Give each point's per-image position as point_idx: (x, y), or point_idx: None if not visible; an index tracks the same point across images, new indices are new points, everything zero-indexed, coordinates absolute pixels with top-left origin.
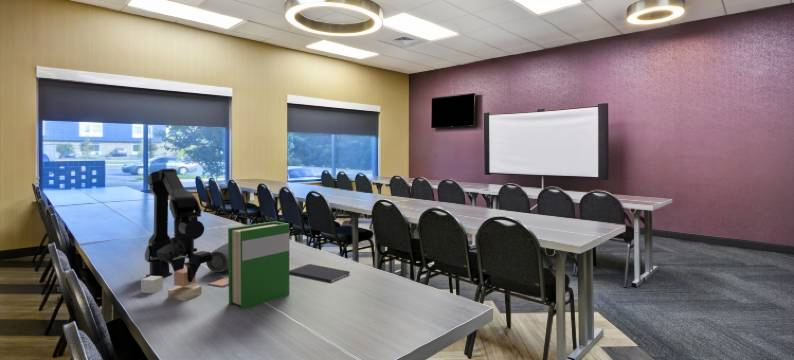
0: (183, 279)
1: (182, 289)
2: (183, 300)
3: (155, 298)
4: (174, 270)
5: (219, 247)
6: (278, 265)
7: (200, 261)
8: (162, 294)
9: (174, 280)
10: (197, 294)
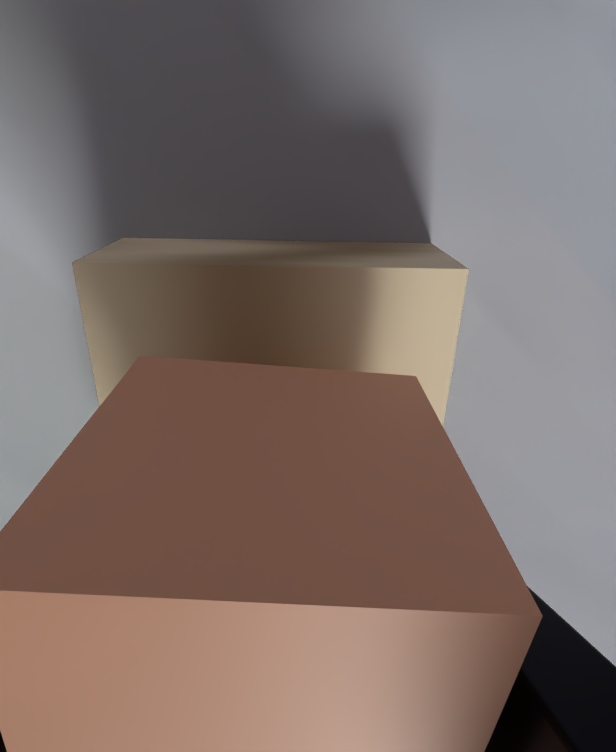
0: (104, 437)
1: None
2: (149, 238)
3: (593, 163)
4: (602, 685)
5: None
6: None
7: None
8: (595, 325)
9: (422, 419)
10: None
